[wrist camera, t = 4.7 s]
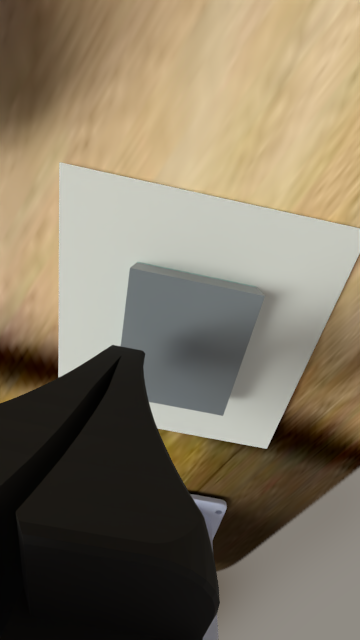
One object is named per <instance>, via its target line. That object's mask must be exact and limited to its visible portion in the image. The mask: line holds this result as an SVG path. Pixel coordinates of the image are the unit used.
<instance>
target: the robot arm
mask: <svg viewBox="0 0 360 640" xmlns="http://www.w3.org/2000/svg"><path fill="white" fill-rule="evenodd" d="M144 359H145V353H144V351H142V350H137V349H131V348H126V347H121V346H116V345H112V346H110V347H108V348H107V349H105V350H104V351H102V352H101V353H99V354H98V355H96V356H94V357H93V358H91V359H90V360H88V361H87V362H85V363H83V364H82V365H80V366H79V367H77V368H75V369H74V370H72V371H70V372H68V373H66V374H65V375H63V376H61V377H59V378H57V379H55V380H54V381H52V382H50V383H48V384H46V385H44V386H41V387H39V388H37V389H35V390H33V391H30V392H28V393H26V394H24V395H21V396H19V397H16V398H14V399H11V400H9V401H6V402H3V403H0V640H219V639H218V623H217V611H218V607H219V603H220V601H219V587H218V580H217V573H216V567H215V561H214V556H213V542H212V541H213V538H214V536H215V534H216V532H217V529H218V527H219V525H220V523H221V520H222V518H223V516H224V514H225V511H226V509H227V505H226V502H225V501H224V500H222V499H217V498H211V497H206V496H200V495H194V494H190V493H189V491H188V490H187V488H186V486H185V485H184V483H183V481H182V479H181V478H180V476H179V474H178V472H177V470H176V468H175V466H174V464H173V463H172V460H171V458H170V456H169V454H168V452H167V450H166V447H165V445H164V443H163V441H162V439H161V436H160V434H159V431H158V429H157V426H156V423H155V421H154V418H153V415H152V411H151V408H150V404H149V400H148V396H147V392H146V386H145V380H144V370H143V365H144Z"/></svg>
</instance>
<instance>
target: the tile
mask: <svg viewBox="0 0 360 640" xmlns="http://www.w3.org/2000/svg"><path fill="white" fill-rule="evenodd" d="M264 298H265V295H264V294H263V293H262V292H261V291H260V290H259V289H258V288H257V287H256V286H252V285H247V284H242V283H237V282H232V281H228V280H223V279H218V278H213V277H209V276H204V275H199V274H194V273H189V272H185V271H180V270H175V269H170V268H165V267H161V266H156V265H151V264H146V263H141V262H137V263H135V264H134V265H133V266H132V267H130V271H129V280H128V288H127V297H126V305H125V314H124V322H123V330H122V339H121V347H126V348H131V349H137V350H142V351H144V353H145V359H144V365H143V370H144V380H145V386H146V392H147V396H148V400H149V402H152V403H158V404H163V405H168V406H173V407H179V408H184V409H189V410H195V411H200V412H205V413H210V414H216V415H221V416H223V415H224V412H225V409H226V406H227V403H228V400H229V397H230V395H231V392H232V389H233V386H234V383H235V380H236V377H237V375H238V372H239V369H240V366H241V363H242V360H243V357H244V355H245V352H246V349H247V346H248V343H249V340H250V338H251V335H252V332H253V329H254V326H255V323H256V320H257V318H258V315H259V312H260V309H261V306H262V303H263V300H264Z"/></svg>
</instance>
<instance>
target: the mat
mask: <svg viewBox="0 0 360 640" xmlns="http://www.w3.org/2000/svg"><path fill="white" fill-rule="evenodd" d="M359 254H360V228H356V227H351V226H347V225H342V224H338V223H333V222H329V221H324V220H320V219H315V218H310V217H306V216H301V215H297V214H292V213H288V212H283V211H279V210H274V209H270V208H265V207H260V206H256V205H251V204H247V203H242V202H238V201H233V200H229V199H224V198H220V197H215V196H211V195H206V194H201V193H197V192H192V191H188V190H183V189H179V188H174V187H170V186H165V185H161V184H156V183H152V182H147V181H142V180H138V179H133V178H129V177H124V176H120V175H115V174H111V173H106V172H102V171H97V170H92V169H88V168H83V167H79V166H74V165H70V164H65V163H61V162H59V372H58V378H59V377H61V376H63V375H65V374H66V373H68V372H70V371H72V370H74V369H75V368H77V367H79V366H80V365H82V364H83V363H85V362H87V361H88V360H90V359H91V358H93V357H94V356H96V355H98V354H99V353H101V352H102V351H104V350H105V349H107V348H108V347H110V346H112V345H116V346H121V339H122V330H123V322H124V314H125V305H126V297H127V288H128V280H129V271H130V267H132V266H133V265H134V264H135V263H137V262H141V263H146V264H151V265H156V266H161V267H165V268H170V269H175V270H180V271H185V272H189V273H194V274H199V275H204V276H209V277H213V278H218V279H223V280H228V281H232V282H237V283H242V284H247V285H252V286H256V287H257V288H258V289H259V290H260V291H261V292H262V293H263V294H264V295H265V298H264V300H263V303H262V306H261V309H260V312H259V315H258V318H257V320H256V323H255V326H254V329H253V332H252V335H251V338H250V340H249V343H248V346H247V349H246V352H245V355H244V357H243V360H242V363H241V366H240V369H239V372H238V375H237V377H236V380H235V383H234V386H233V389H232V392H231V395H230V397H229V400H228V403H227V406H226V409H225V412H224V415H223V416H221V415H216V414H210V413H205V412H200V411H195V410H189V409H184V408H179V407H173V406H168V405H163V404H158V403H152V402H149V404H150V408H151V411H152V415H153V418H154V421H155V423H156V426H157V428H158V429H163V430H169V431H174V432H179V433H185V434H190V435H196V436H201V437H206V438H212V439H217V440H222V441H228V442H233V443H238V444H244V445H249V446H255V447H260V448H265V449H267V447H268V445H269V443H270V441H271V439H272V437H273V435H274V433H275V430H276V428H277V426H278V424H279V422H280V420H281V418H282V416H283V414H284V411H285V409H286V407H287V405H288V403H289V401H290V399H291V397H292V395H293V393H294V390H295V388H296V386H297V384H298V382H299V380H300V378H301V376H302V374H303V371H304V369H305V367H306V365H307V363H308V361H309V359H310V357H311V355H312V353H313V350H314V348H315V346H316V344H317V342H318V340H319V338H320V336H321V334H322V331H323V329H324V327H325V325H326V323H327V321H328V319H329V317H330V315H331V313H332V310H333V308H334V306H335V304H336V302H337V300H338V298H339V296H340V294H341V291H342V289H343V287H344V285H345V283H346V281H347V279H348V277H349V275H350V273H351V270H352V268H353V266H354V264H355V262H356V260H357V258H358V256H359Z"/></svg>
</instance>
